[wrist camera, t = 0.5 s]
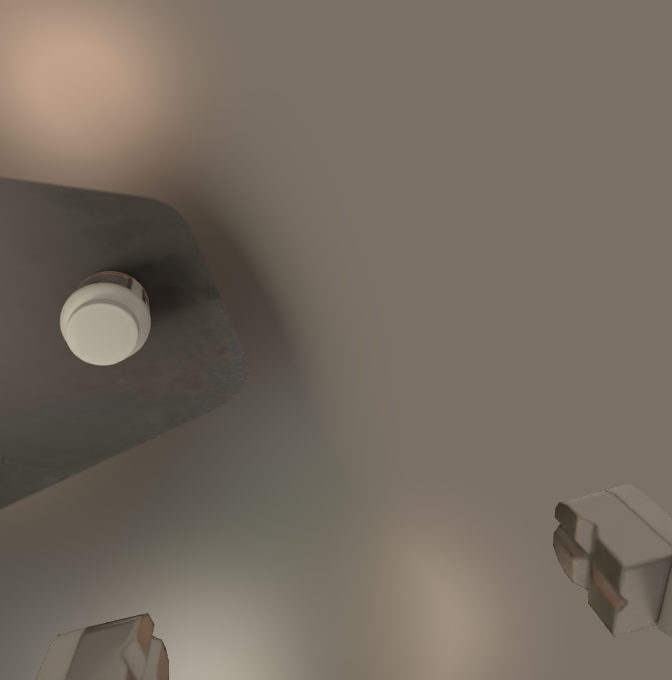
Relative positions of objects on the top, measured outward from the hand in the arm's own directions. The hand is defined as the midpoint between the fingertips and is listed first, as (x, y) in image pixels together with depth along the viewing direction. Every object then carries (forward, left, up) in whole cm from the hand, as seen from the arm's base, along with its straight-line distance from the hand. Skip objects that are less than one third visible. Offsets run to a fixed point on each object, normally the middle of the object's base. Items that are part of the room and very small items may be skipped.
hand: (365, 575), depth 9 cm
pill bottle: (-4, -5, -33) cm, 33 cm away
